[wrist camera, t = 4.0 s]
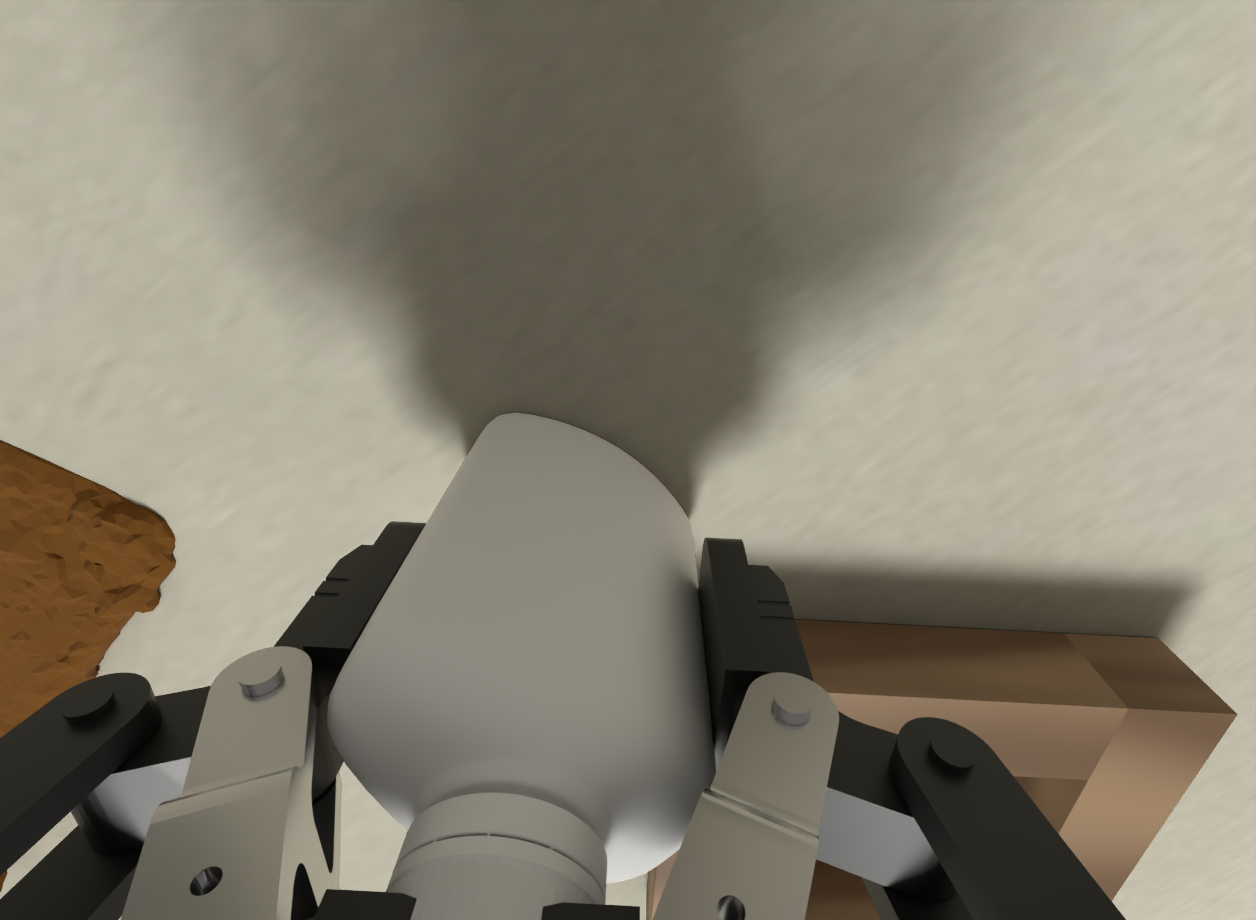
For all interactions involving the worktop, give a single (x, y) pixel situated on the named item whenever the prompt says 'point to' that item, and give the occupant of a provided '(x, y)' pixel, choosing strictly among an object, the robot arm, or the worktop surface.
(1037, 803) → the walnut collar
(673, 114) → the worktop surface
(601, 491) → the eye dropper bottle
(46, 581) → the primitive tool
